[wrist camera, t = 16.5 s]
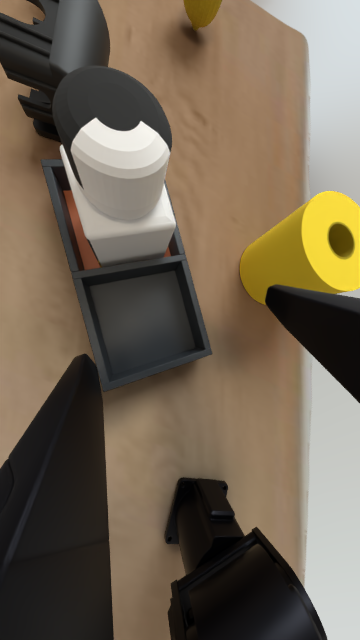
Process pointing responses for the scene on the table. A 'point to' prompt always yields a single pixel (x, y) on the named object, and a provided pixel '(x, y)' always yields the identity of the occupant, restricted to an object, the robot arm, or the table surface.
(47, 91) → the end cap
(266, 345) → the table surface
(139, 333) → the divided tray
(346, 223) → the yellow toilet paper roll
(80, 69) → the medicine bottle
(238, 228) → the table surface
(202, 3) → the lemon
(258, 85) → the table surface
